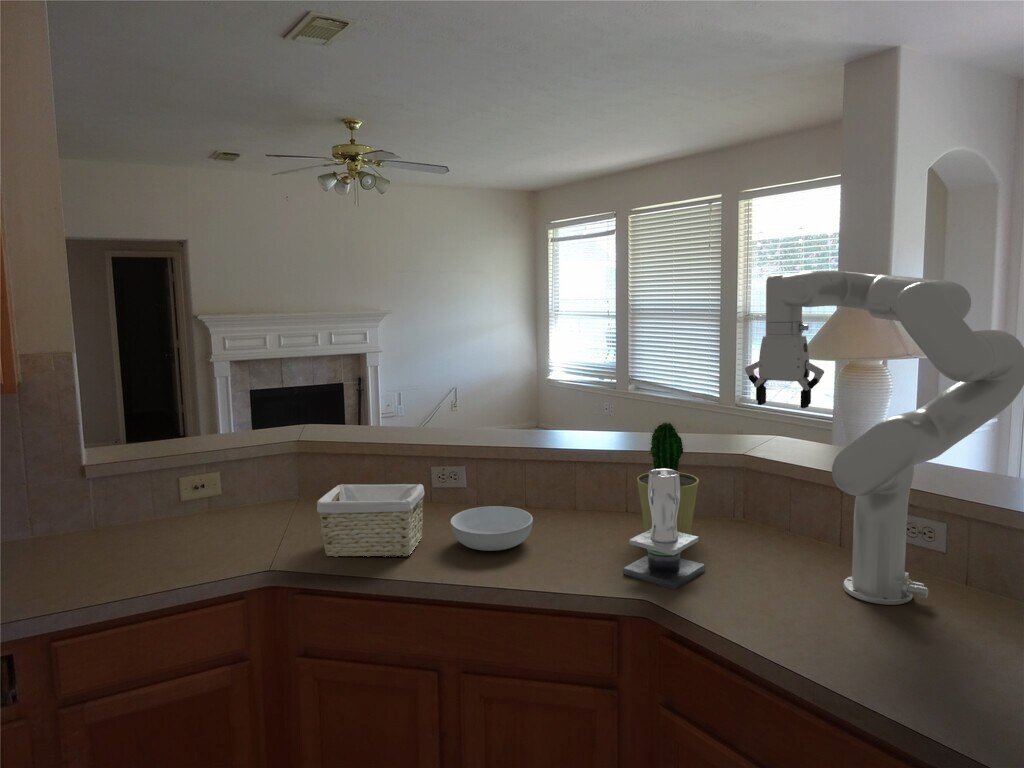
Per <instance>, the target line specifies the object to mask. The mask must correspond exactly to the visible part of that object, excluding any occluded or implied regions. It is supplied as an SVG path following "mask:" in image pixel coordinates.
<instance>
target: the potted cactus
mask: <svg viewBox="0 0 1024 768" xmlns="http://www.w3.org/2000/svg"><path fill="white" fill-rule="evenodd" d="M653 427H656V428H654V429H653V430H652V431H651V430H650V431H651V433H650V432H649V434H650V435H651V439H649V441H650V442H649V445H650V446H649V452H650V453H648V455H651V457H652V458H651V459H650V461H651V463H653V464H652V468H653V470H655V469H671V470H676V471H678V472H679V471H680V470H681V467H680V466H683V464H681V461H682V460H681V459H683V455H684V453H685V449H687V448H688V446H685V449H684V444H683V441H684V440H683V439H684V438H682V437H681V435H679V431H677V425H675V426H674V424H673V423H671V421H668V422H667V421H664V422H662V421H661V423H660V421H658V423H657V425H653ZM679 469H680V470H679ZM636 479H637V488H638V495H639V501H640V506H641V513H642V521H643V527H644V532H646V531H648V530H650V529H652V516H651V510H650V505H649V498H648V479H649V472H646V473H643V474H641V475H639V476H638V477H637V478H636ZM679 479H680V502H679V508H678V514H677V522H676V524H677V532H680V533H685V534H689V535H692V534H691V533H692V527H693V526H692V525H693V520H694V515H695V514H694V513H695V512H694V511H695V506H696V500H697V494H698V489H699V488H698V487H699V482H700V479H699V477H696V476H695V475H692V474H689V473H686V472H679Z"/></svg>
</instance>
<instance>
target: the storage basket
mask: <svg viewBox="0 0 1024 768" xmlns="http://www.w3.org/2000/svg"><path fill="white" fill-rule="evenodd" d="M424 487H425V486H424V485H423V484H421V483H419V484H418V483H417V484H407V483H402V484H400V483H399V484H397V483H395V484H394V483H393V484H343V483H341V484H338V485H336V486H335V487H334V488H332V489H331V490H329V491H328V492H327V493H326V494H324V495H323V496H322V497H320V499H318V500H317V501H316V504H317V505H316V506H317V507H316V510H317V511H316V512H317V513H318V514H319V518H320V519H319V520H320V526H321V529H320V530H321V534H322V541H323V543H324V546H323V547H324V552H325V553H326V554H343V555H344V554H345V555H346V554H347V555H348V554H351V555H386V556H388V555H403V556H402V557H409V556H411V555H412V554H413V552H414V551H413V550H414V549H415V550H416V548H417V547H418V546H419V543H420V542H421V540H422V539H421V538H423V515H424V513H423V505H424V501H423V500H424V496H425V494H426V493H425V488H424ZM420 539H421V540H420ZM419 541H420V542H419ZM418 542H419V543H418ZM415 547H416V548H415ZM412 551H413V552H412ZM411 553H412V554H411ZM326 554H325V555H326ZM410 554H411V555H410ZM408 555H409V556H408ZM386 556H385V557H386Z"/></svg>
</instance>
